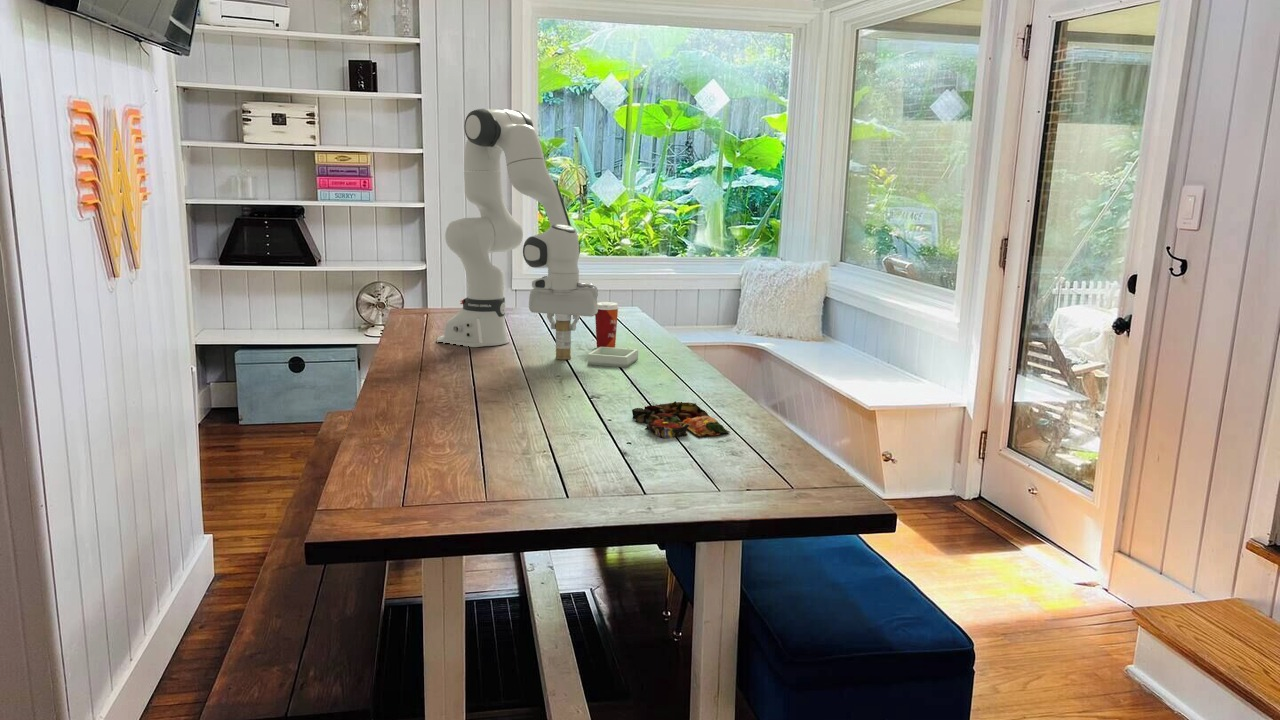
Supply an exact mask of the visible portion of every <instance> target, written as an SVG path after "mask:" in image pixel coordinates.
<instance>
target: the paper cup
mask: <svg viewBox="0 0 1280 720" xmlns="http://www.w3.org/2000/svg"><path fill="white" fill-rule="evenodd" d="M597 304H598V312H597V314H596V315H594V319H595V320H594V321H595V338H596V339H595V340H596V349H597V348H599V347H612V348H616V340H617V327H618V326H617V325H618V312H619V309H620V307H619V305H618V302H612V301H611V302H610V301H600V302H598V301H597Z"/></svg>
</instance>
